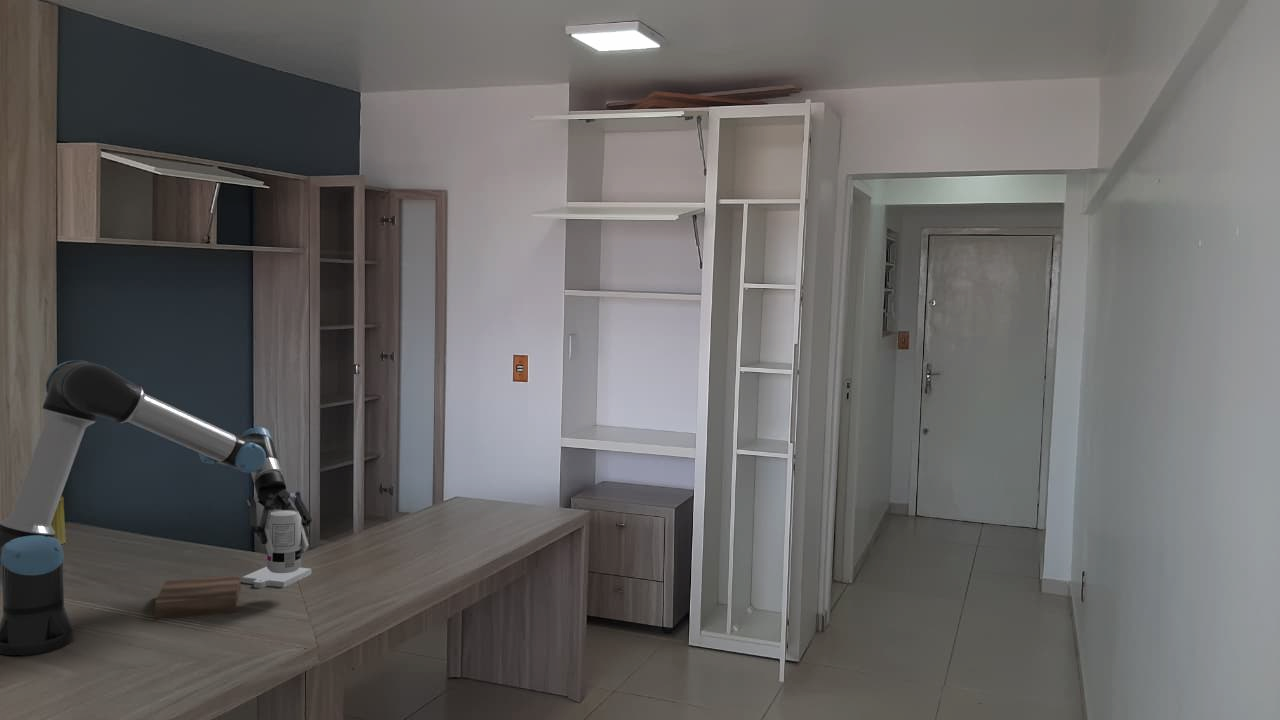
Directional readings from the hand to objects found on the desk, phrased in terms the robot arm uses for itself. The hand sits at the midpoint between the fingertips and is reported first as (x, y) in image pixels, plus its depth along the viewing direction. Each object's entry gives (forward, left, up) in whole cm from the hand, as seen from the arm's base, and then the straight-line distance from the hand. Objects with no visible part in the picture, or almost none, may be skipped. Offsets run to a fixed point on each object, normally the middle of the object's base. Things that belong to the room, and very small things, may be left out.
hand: (288, 550), depth 252 cm
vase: (+73, +70, -13) cm, 102 cm away
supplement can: (+3, +1, -6) cm, 7 cm away
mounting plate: (+21, +4, -14) cm, 25 cm away
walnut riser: (+3, +22, -13) cm, 25 cm away
